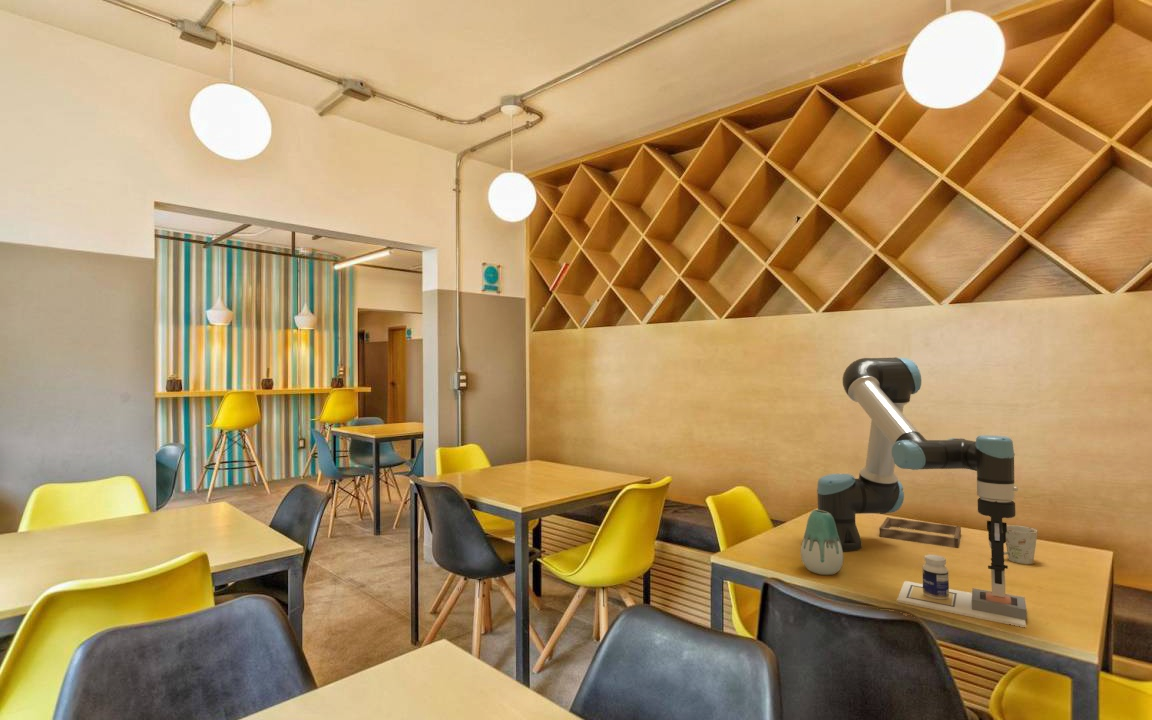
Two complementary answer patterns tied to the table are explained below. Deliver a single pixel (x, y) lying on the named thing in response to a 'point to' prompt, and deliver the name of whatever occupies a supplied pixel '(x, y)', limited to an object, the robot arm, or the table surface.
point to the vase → (821, 544)
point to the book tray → (921, 537)
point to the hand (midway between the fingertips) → (998, 595)
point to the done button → (998, 598)
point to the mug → (1020, 544)
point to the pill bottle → (935, 577)
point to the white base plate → (968, 604)
